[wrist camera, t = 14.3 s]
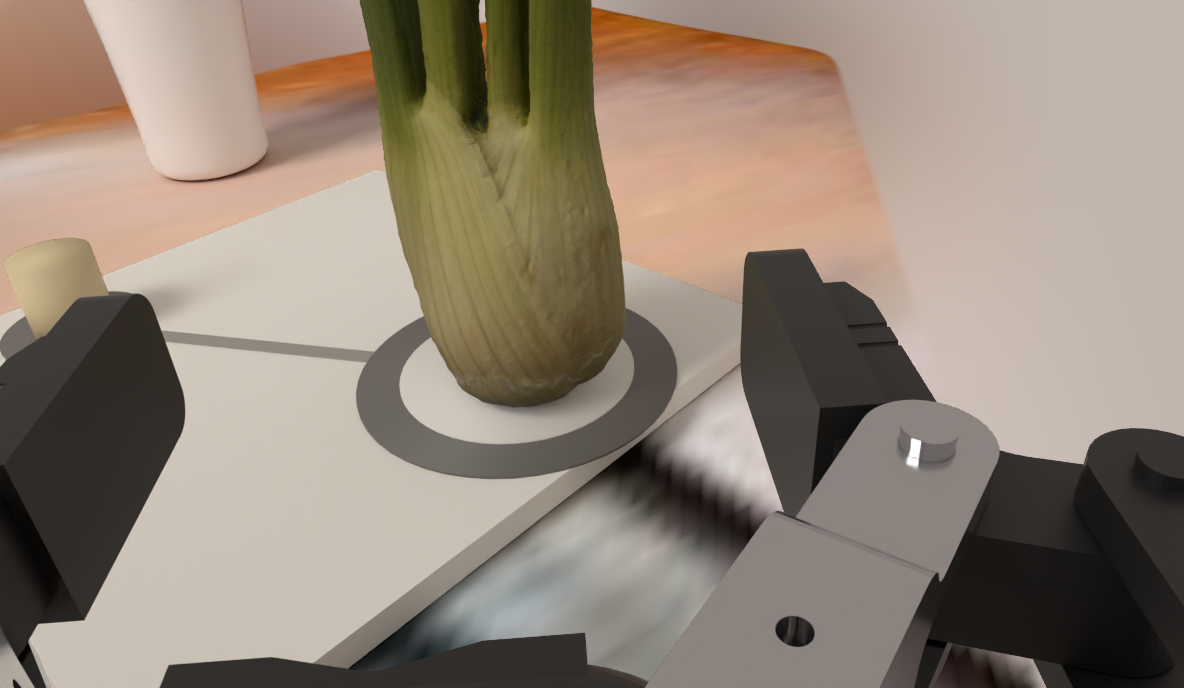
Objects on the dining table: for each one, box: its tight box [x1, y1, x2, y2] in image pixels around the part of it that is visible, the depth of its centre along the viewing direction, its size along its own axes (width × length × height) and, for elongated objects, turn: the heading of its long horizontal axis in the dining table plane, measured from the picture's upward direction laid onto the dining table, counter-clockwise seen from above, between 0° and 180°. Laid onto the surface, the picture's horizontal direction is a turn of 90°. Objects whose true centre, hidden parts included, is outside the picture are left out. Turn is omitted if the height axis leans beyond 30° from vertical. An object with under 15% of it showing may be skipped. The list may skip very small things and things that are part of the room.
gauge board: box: [0, 169, 742, 688], centre depth 27 cm, size 20×20×3 cm
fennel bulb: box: [360, 0, 626, 408], centre depth 22 cm, size 6×5×12 cm
